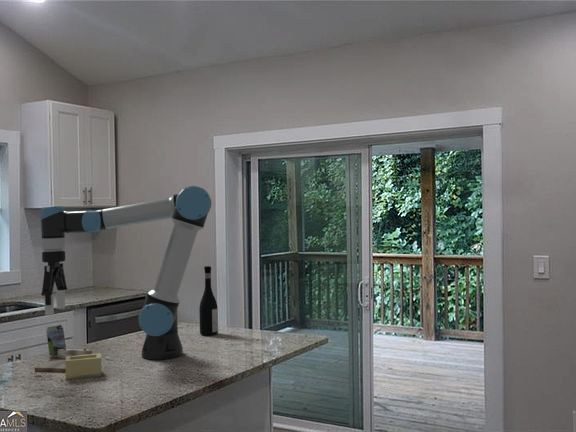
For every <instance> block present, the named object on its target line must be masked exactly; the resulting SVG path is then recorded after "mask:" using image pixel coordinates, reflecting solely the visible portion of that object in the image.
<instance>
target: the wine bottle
mask: <svg viewBox="0 0 576 432" xmlns="http://www.w3.org/2000/svg"><path fill="white" fill-rule="evenodd" d="M203 268H204V291H203V294H202V297H201V299H200V301H199V302H200V303H199V333H200V335H201V336H205V337H211V336H215V335H218V332H219V312H218V303H217V300H216V298H215V295H214V293H213V289H212V266H209V265H206V266H203Z"/></svg>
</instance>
